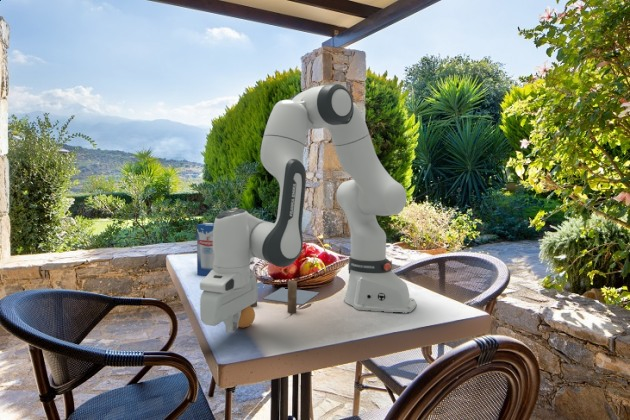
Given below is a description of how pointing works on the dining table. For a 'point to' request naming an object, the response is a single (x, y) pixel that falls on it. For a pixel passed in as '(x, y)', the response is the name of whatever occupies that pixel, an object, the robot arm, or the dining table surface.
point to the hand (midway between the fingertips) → (232, 330)
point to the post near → (292, 296)
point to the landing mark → (282, 296)
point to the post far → (256, 301)
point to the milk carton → (205, 248)
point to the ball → (246, 317)
